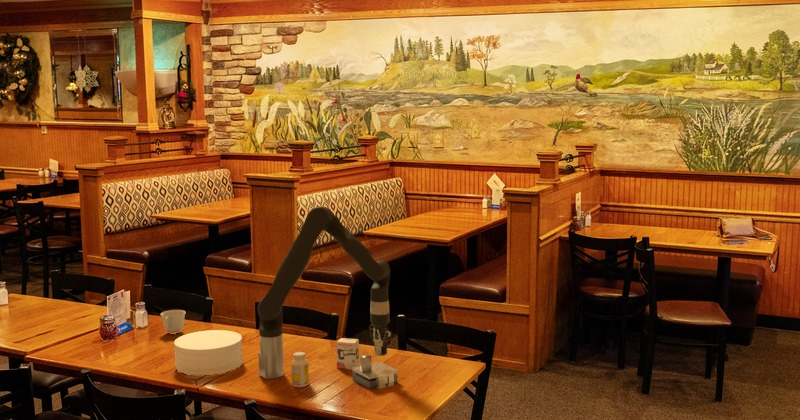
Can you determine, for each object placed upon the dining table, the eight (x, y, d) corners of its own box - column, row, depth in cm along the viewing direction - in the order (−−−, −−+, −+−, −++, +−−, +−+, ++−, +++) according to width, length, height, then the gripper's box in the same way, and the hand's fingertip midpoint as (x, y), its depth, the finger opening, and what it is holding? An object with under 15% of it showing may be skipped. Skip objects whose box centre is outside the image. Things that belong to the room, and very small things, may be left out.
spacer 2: (379, 356, 333) (378, 341, 332) (373, 353, 337) (372, 339, 336) (388, 354, 336) (388, 339, 335) (382, 351, 339) (382, 337, 338)
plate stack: (162, 366, 359) (161, 340, 357) (217, 351, 379) (216, 326, 377) (200, 381, 340) (198, 354, 338) (256, 364, 360) (255, 338, 358)
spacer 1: (364, 373, 330) (363, 358, 329) (358, 370, 334) (358, 355, 333) (373, 371, 332) (373, 356, 332) (367, 368, 336) (367, 353, 335)
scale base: (372, 390, 325) (372, 378, 325) (352, 380, 338) (352, 368, 337) (400, 383, 332) (400, 371, 332) (379, 373, 345) (379, 361, 344)
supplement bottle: (306, 381, 337) (305, 350, 336) (310, 386, 331) (309, 355, 329) (290, 383, 335) (289, 352, 333) (293, 388, 329) (292, 357, 327)
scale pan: (369, 381, 327) (369, 376, 326) (352, 372, 337) (352, 367, 337) (397, 375, 334) (397, 370, 334) (379, 366, 345) (379, 361, 344)
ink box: (336, 368, 352) (335, 341, 351) (340, 364, 357) (340, 337, 355) (355, 370, 350) (355, 342, 348) (359, 366, 354) (359, 339, 353)
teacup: (154, 338, 400) (153, 317, 398) (168, 329, 414) (166, 309, 413) (178, 338, 398) (177, 318, 396) (191, 329, 412) (190, 310, 411)
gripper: (362, 309, 338) (363, 350, 340) (381, 316, 326) (382, 359, 328) (378, 306, 342) (379, 347, 344) (397, 313, 330) (398, 355, 332)
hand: (380, 352), depth 336 cm, fingers closed on spacer 2, 4 cm apart
